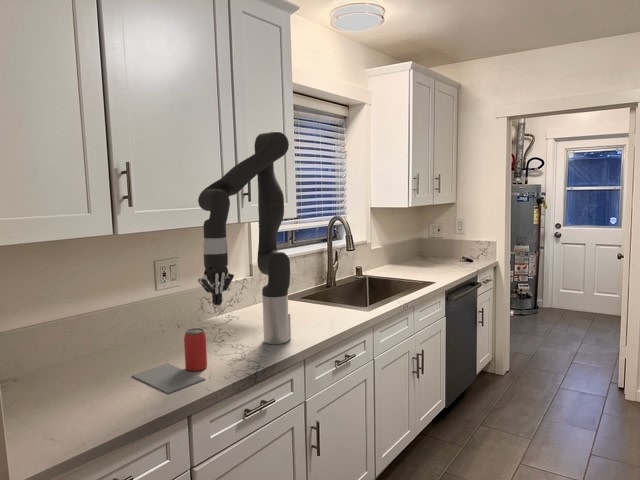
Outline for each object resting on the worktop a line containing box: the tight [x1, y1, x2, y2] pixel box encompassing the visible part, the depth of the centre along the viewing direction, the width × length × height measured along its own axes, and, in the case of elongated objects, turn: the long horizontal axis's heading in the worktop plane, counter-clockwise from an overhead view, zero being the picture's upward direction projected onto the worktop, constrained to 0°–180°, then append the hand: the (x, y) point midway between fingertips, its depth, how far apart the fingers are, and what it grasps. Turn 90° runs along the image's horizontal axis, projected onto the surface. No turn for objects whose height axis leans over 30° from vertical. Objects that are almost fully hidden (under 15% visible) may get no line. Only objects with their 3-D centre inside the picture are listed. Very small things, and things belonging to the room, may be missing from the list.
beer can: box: [183, 327, 208, 372], centre depth 143 cm, size 7×7×12 cm
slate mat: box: [131, 363, 206, 395], centre depth 136 cm, size 12×20×1 cm, turn 50°
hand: (217, 304), depth 149 cm, fingers closed
